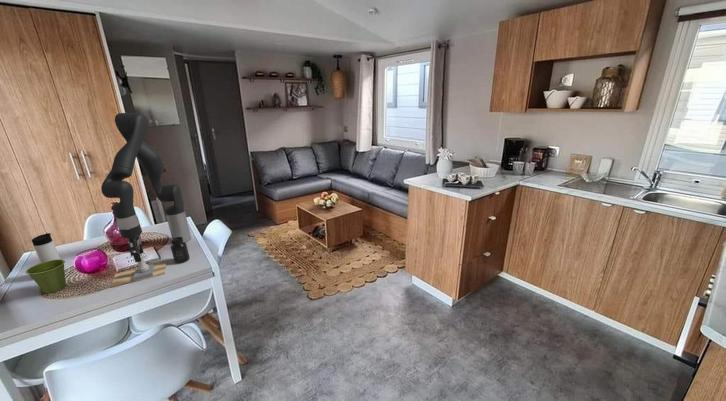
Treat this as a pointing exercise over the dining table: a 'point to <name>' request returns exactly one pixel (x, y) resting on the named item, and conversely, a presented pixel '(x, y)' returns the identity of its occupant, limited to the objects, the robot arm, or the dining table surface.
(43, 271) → the plant pot
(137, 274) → the grey picture frame
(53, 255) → the travel mug
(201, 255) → the dining table surface
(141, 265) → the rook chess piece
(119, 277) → the mat
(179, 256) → the supplement bottle
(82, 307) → the dining table surface
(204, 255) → the dining table surface
